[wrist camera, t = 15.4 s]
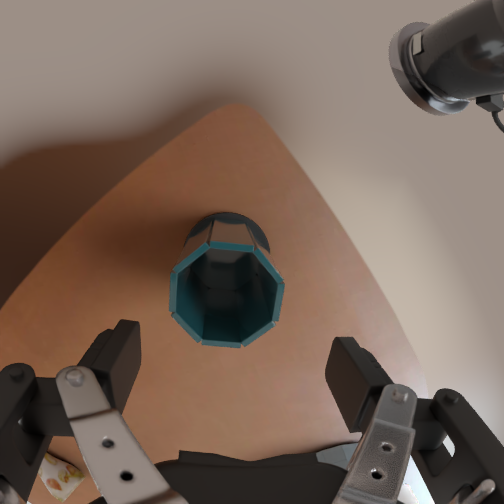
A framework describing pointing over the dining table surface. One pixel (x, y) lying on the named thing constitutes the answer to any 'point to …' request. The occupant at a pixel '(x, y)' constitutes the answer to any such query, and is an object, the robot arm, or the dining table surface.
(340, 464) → the glazed bowl
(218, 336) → the teal cup
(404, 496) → the cup
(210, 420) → the dining table surface
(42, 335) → the dining table surface
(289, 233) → the dining table surface
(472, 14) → the robot arm
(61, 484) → the white pear shape
